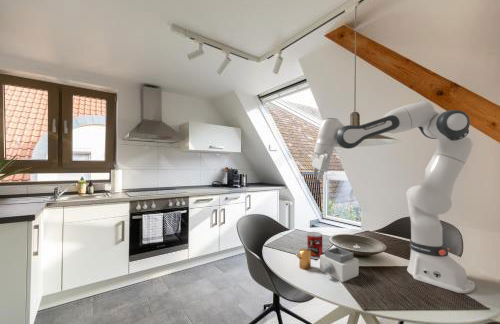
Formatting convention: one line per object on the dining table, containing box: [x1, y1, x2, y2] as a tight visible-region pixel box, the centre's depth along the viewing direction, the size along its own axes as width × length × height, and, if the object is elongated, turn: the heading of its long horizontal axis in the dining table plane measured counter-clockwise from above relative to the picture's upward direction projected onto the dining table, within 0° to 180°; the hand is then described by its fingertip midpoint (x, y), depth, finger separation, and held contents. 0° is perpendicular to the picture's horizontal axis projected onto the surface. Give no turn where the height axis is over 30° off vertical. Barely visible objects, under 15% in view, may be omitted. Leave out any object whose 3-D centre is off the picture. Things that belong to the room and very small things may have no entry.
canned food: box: [306, 231, 323, 257], centre depth 126 cm, size 8×8×11 cm
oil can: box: [295, 248, 312, 271], centre depth 109 cm, size 8×5×8 cm
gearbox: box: [319, 246, 360, 283], centre depth 103 cm, size 12×15×10 cm
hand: (316, 178), depth 114 cm, fingers open, 8 cm apart
